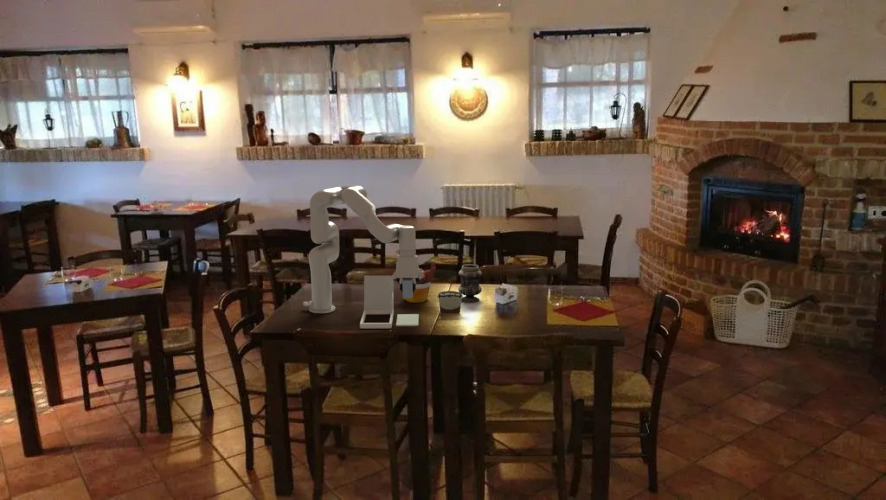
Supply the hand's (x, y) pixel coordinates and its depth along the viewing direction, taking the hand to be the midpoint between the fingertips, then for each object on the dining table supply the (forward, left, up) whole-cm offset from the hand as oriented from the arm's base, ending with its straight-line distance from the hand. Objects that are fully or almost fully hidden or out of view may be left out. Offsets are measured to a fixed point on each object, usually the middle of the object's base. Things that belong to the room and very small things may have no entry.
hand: (407, 291), depth 313 cm
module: (0, 0, -2) cm, 2 cm away
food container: (+20, +13, -14) cm, 28 cm away
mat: (0, 0, -14) cm, 14 cm away
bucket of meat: (+4, +34, -14) cm, 37 cm away
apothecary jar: (+31, +34, -14) cm, 48 cm away
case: (-14, +2, -14) cm, 20 cm away
